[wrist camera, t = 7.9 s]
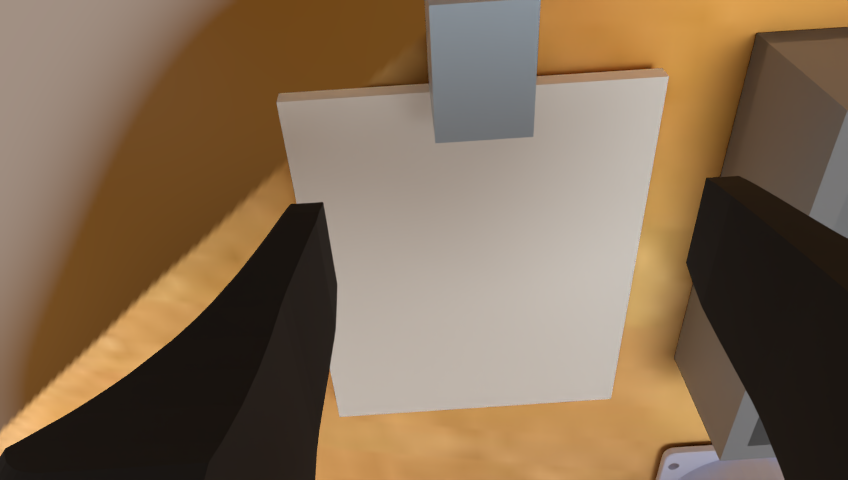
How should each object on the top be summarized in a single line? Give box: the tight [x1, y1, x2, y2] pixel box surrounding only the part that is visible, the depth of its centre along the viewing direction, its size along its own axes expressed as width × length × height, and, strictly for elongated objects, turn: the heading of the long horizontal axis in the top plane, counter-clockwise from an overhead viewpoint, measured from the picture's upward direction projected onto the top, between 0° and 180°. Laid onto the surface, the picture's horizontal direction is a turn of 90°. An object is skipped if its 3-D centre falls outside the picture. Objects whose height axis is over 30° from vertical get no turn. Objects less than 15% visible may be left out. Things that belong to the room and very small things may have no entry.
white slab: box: [276, 0, 669, 417], centre depth 22 cm, size 18×11×4 cm, turn 3°
